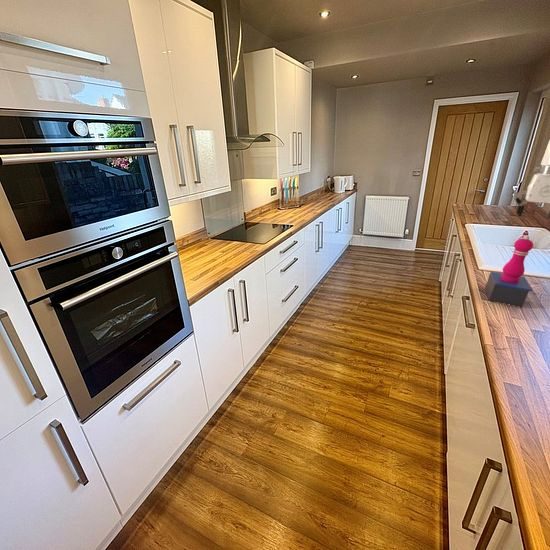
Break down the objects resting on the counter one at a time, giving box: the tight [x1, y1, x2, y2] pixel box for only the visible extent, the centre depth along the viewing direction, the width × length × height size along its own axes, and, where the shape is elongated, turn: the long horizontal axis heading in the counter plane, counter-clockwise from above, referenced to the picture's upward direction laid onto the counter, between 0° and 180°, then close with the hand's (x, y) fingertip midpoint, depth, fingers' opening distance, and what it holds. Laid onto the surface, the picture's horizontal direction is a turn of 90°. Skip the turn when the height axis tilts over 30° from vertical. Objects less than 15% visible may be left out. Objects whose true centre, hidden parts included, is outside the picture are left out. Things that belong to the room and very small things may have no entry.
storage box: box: [484, 272, 530, 308], centre depth 127 cm, size 12×14×8 cm
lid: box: [490, 271, 533, 292], centre depth 125 cm, size 12×14×1 cm
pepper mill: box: [501, 235, 534, 283], centre depth 120 cm, size 7×7×20 cm
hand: (533, 216), depth 114 cm, fingers open, 9 cm apart
